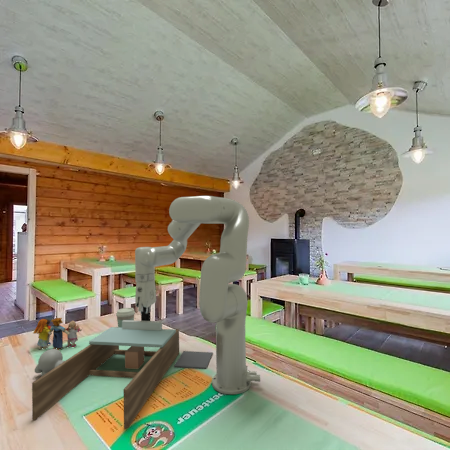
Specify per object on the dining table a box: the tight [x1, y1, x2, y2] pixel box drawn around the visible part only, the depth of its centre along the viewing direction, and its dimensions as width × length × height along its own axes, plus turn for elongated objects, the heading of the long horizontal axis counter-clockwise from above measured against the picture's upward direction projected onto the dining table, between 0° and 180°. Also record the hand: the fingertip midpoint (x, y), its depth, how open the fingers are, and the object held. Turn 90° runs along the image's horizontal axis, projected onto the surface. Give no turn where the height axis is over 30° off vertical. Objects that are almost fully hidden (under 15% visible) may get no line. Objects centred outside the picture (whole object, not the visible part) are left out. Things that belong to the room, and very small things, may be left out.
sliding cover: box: [88, 319, 176, 349], centre depth 102 cm, size 27×14×4 cm, turn 82°
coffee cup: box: [115, 307, 136, 328], centre depth 131 cm, size 8×8×12 cm
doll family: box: [32, 317, 82, 351], centre depth 118 cm, size 21×10×13 cm, turn 80°
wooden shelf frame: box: [31, 328, 180, 429], centre depth 92 cm, size 27×42×10 cm, turn 172°
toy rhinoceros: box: [34, 348, 65, 377], centre depth 96 cm, size 7×12×8 cm, turn 72°
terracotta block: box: [124, 346, 145, 370], centre depth 102 cm, size 5×5×6 cm
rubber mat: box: [173, 350, 213, 370], centre depth 105 cm, size 12×12×1 cm
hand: (145, 322), depth 112 cm, fingers closed
